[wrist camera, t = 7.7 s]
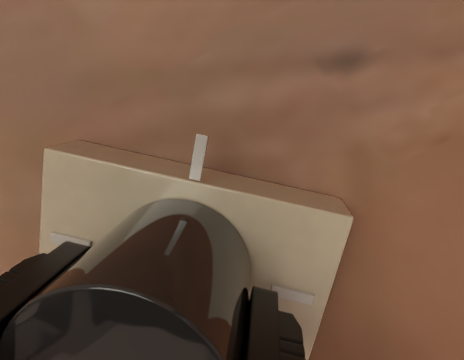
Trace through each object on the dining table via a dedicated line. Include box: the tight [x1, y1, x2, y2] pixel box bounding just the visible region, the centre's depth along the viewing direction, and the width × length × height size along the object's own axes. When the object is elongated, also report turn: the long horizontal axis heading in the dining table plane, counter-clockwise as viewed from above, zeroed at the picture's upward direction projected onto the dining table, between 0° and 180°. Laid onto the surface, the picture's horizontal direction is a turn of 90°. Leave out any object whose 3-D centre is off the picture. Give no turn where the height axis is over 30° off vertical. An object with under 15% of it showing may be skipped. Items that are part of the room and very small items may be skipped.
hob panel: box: [39, 133, 354, 360], centre depth 13 cm, size 16×10×2 cm, turn 169°
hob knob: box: [0, 199, 251, 360], centre depth 9 cm, size 5×5×5 cm
